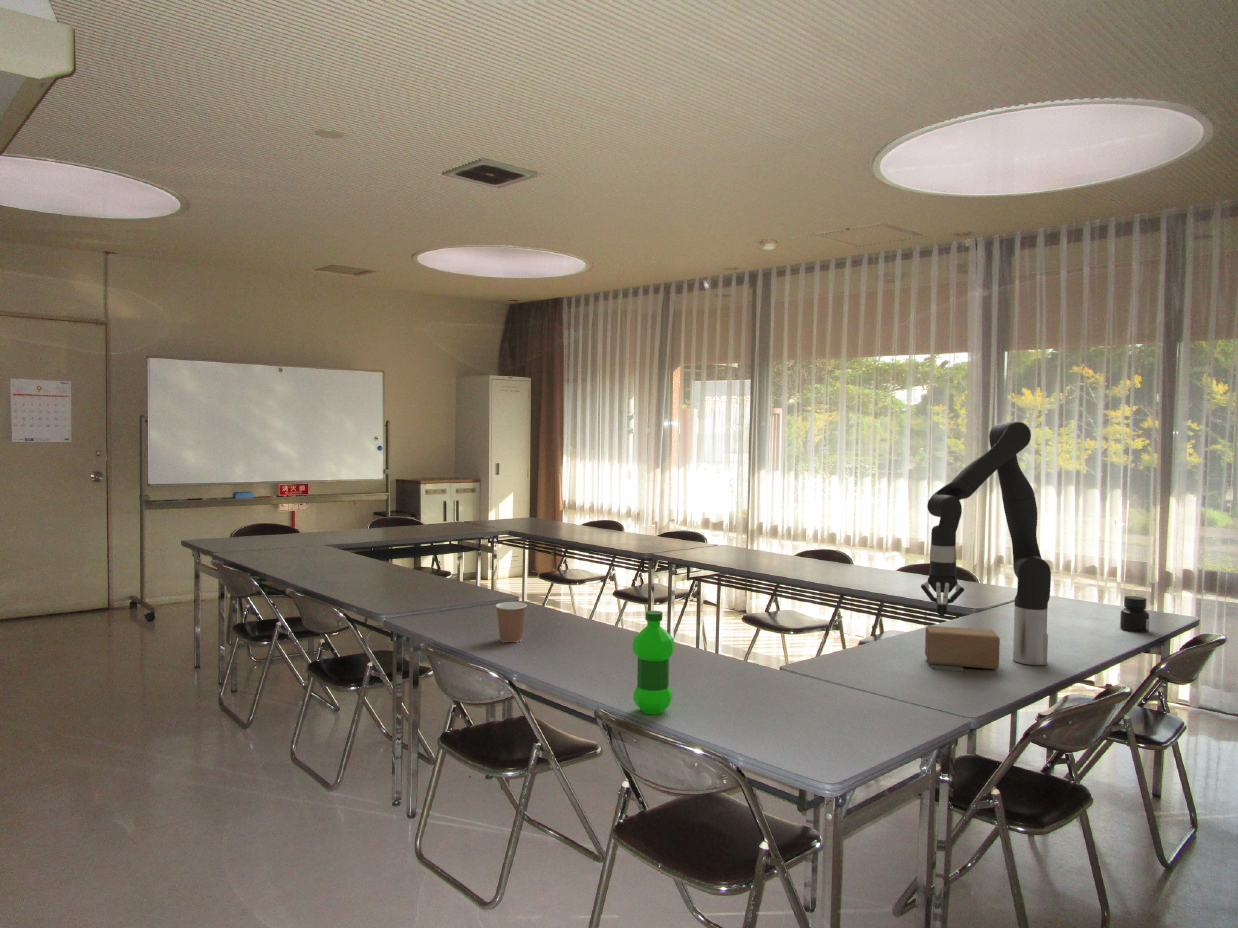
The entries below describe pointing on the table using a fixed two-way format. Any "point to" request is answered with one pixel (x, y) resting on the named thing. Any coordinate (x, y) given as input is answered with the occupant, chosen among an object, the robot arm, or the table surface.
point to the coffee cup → (511, 620)
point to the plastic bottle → (653, 665)
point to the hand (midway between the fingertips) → (941, 615)
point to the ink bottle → (1134, 615)
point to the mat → (947, 667)
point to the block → (962, 647)
